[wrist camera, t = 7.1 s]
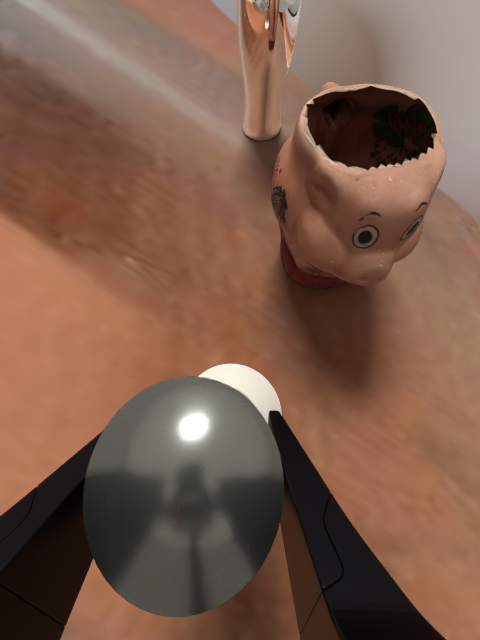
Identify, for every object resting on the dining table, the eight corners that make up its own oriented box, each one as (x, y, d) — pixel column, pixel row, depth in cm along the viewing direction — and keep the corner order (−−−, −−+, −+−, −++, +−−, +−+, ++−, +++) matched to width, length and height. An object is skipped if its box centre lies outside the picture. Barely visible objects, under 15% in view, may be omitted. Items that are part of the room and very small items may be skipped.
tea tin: (275, 412, 16) (319, 445, 6) (232, 490, 14) (207, 683, 5) (211, 369, 17) (167, 343, 7) (166, 438, 15) (39, 514, 6)
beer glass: (277, 110, 36) (298, -77, 21) (288, 139, 34) (319, -47, 19) (235, 117, 35) (229, -67, 21) (244, 146, 33) (243, -36, 19)
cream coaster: (288, 377, 23) (290, 377, 22) (269, 487, 20) (270, 491, 19) (198, 354, 24) (196, 353, 23) (167, 456, 21) (164, 458, 20)
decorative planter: (248, 193, 30) (251, 42, 17) (332, 178, 31) (397, 20, 18) (286, 327, 24) (336, 253, 11) (389, 306, 25) (555, 211, 12)
